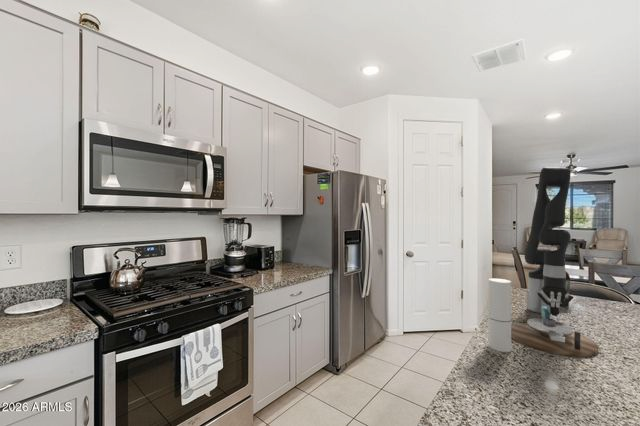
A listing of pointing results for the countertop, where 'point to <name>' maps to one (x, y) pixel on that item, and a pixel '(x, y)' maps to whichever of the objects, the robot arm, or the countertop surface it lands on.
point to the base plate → (554, 342)
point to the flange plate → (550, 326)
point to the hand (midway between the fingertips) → (554, 315)
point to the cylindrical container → (500, 314)
